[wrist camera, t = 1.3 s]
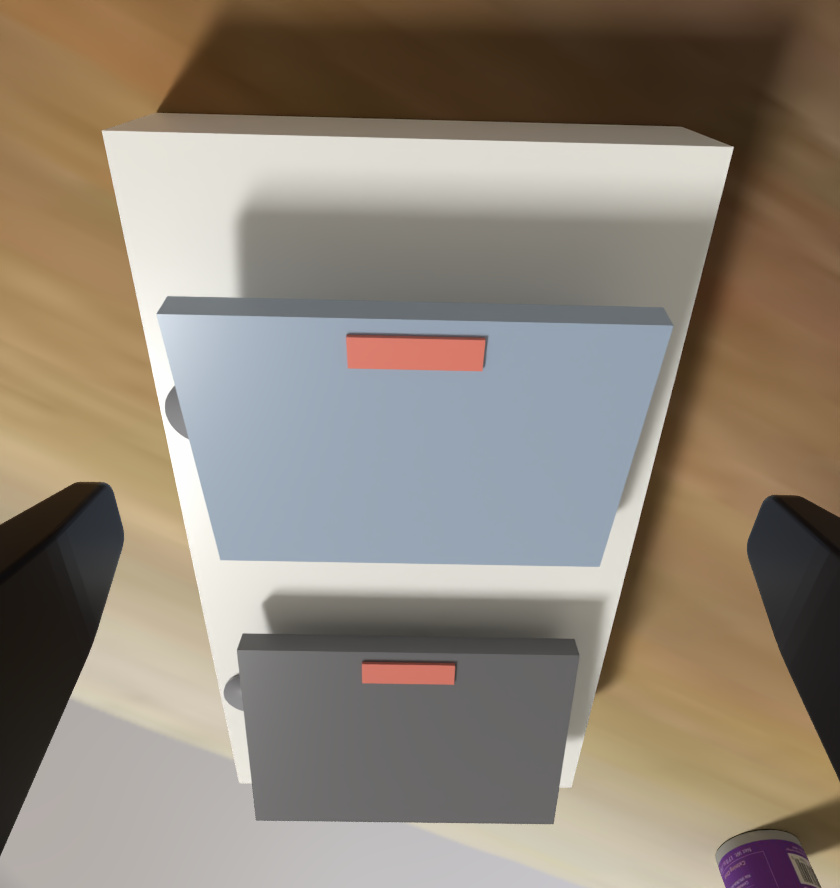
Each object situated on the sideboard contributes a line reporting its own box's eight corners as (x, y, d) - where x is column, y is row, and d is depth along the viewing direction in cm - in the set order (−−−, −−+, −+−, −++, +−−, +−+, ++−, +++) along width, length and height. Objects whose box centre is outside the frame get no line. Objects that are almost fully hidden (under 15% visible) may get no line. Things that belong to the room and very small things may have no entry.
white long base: (681, 126, 18) (737, 148, 15) (556, 715, 31) (572, 792, 28) (155, 112, 18) (98, 132, 14) (256, 710, 31) (237, 787, 28)
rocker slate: (651, 285, 16) (675, 328, 14) (587, 520, 21) (600, 569, 19) (180, 274, 16) (154, 316, 14) (234, 513, 21) (219, 563, 19)
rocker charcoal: (567, 618, 23) (580, 658, 21) (544, 780, 26) (554, 826, 25) (250, 613, 23) (236, 652, 21) (266, 776, 26) (255, 823, 24)
